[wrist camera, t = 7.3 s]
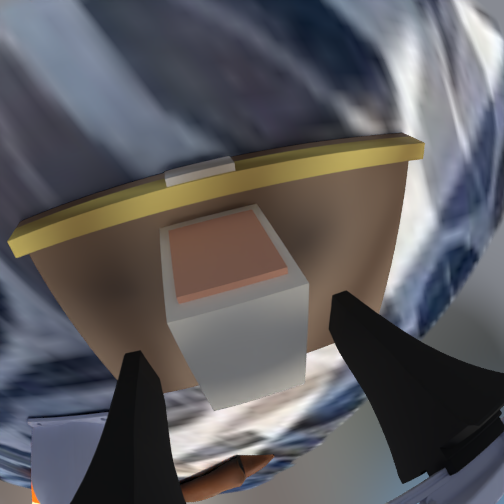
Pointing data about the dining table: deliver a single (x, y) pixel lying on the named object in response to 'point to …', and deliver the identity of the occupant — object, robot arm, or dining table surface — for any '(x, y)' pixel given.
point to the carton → (235, 305)
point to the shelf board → (211, 202)
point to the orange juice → (34, 498)
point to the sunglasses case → (224, 477)
